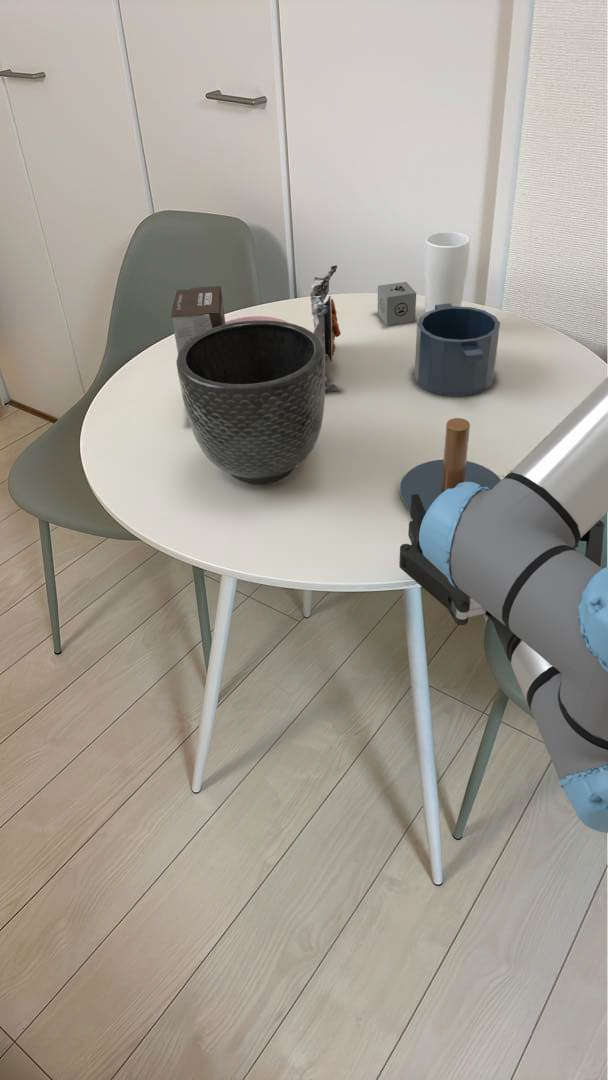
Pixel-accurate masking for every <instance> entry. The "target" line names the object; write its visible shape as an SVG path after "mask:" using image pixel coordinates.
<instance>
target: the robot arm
mask: <svg viewBox="0 0 608 1080" xmlns="http://www.w3.org/2000/svg"><path fill="white" fill-rule="evenodd" d="M607 513H608V376H607V377H605V378H604V379H603V380H602V382H600V383H599V384H598V385H597V386H596V387H595V388H594V389H593V390H592V391H591V392H590V393H589V394H588V395H587V396H586V397H585V398H584V399H583V400H582V401H581V402H580V403H579V404H578V405H577V406H576V407H575V408H574V409H573V410H571V412H570V413H569V414H567V416H566V417H565V418H564V419H563V420H562V421H561V422H559V424H558V425H556V426H555V428H553V430H552V431H550V432H549V433H548V435H546V436H545V437H544V438H543V439H542V440H541V441H540V442H539V443H538V444H537V445H536V446H534V448H533V449H532V450H531V451H530V452H529V453H528V454H527V455H526V456H525V457H524V458H523V459H522V460H521V461H520V462H519V463H517V465H516V466H515V467H514V468H512V470H510V472H509V473H507V474H506V475H504V477H503V478H502V479H501V481H500V482H499V483H498V484H497V485H496V486H495V487H494V488H493V489H492V490H490V489H489V488H488V487H485V486H481V485H479V484H477V483H474V482H463V483H459V484H458V485H457V486H456V487H455V488H453V489H447V490H445V491H444V492H443V493H442V494H440V495H439V496H438V497H437V498H436V499H435V501H434V502H433V503H432V504H431V506H430V507H429V509H428V510H427V512H425V509H424V507H423V504H422V502H421V499H420V497H419V494H416V495H411V510H410V517H411V520H409V521H408V522H409V523H408V539H409V540H410V543H403V544H401V545H400V546H399V560H398V561H399V562H398V563H399V564H398V566H399V568H400V569H401V570H402V571H403V572H404V573H405V574H406V575H407V576H409V577H410V578H411V580H413V581H414V582H416V583H417V584H418V585H419V586H420V587H422V588H423V589H424V590H425V591H426V592H427V593H428V594H430V595H431V596H432V597H433V598H434V599H435V600H437V601H438V603H440V604H441V605H443V607H444V608H446V609H447V610H448V612H449V614H450V615H451V618H452V619H453V621H454V623H455V624H456V625H458V626H466V625H467V624H468V622H469V618H471V617H472V618H473V617H476V616H480V615H485V616H486V617H487V618H489V620H490V621H491V622H492V623H493V627H494V629H495V632H496V634H497V637H498V639H499V642H500V644H501V646H502V648H503V650H504V653H505V656H506V658H507V660H508V661H509V663H510V664H511V669H512V671H513V673H514V675H515V678H516V681H517V683H518V685H519V687H520V690H521V692H522V694H523V697H524V699H525V701H526V703H527V706H528V708H529V711H530V713H531V714H532V717H533V719H534V721H535V724H536V726H537V728H538V731H539V733H540V737H541V738H542V741H543V743H544V745H545V748H546V750H547V753H548V755H549V757H550V760H551V762H552V765H553V768H554V770H555V773H556V774H557V778H558V784H559V786H560V787H561V788H560V789H562V790H563V791H564V793H565V795H566V797H567V799H568V801H569V803H570V805H571V807H572V809H573V810H574V812H575V814H576V816H577V817H578V819H579V820H580V822H581V823H583V825H584V826H586V827H587V828H588V829H590V830H593V831H596V832H599V833H605V834H608V566H605V567H604V568H603V567H601V565H602V556H603V555H602V553H603V544H604V543H603V541H604V529H605V523H604V522H603V521H602V520H601V519H603V517H605V515H606V514H607ZM580 542H586V543H585V550H584V551H585V552H584V554H583V553H581V552H579V550H576V548H578V547H579V543H580Z"/></svg>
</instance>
